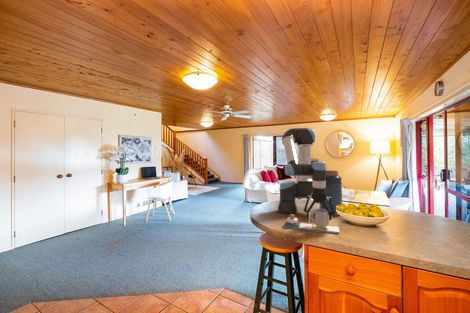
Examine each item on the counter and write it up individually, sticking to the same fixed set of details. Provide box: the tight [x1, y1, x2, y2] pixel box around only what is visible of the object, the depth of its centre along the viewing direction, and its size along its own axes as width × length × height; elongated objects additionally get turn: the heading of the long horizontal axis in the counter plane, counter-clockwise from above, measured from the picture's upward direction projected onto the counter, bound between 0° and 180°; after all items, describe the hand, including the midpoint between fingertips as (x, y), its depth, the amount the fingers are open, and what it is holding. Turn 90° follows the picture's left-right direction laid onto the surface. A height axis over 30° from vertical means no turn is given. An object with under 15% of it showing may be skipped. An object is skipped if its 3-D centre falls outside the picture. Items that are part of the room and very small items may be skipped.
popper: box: [286, 214, 299, 224], centre depth 138 cm, size 6×6×4 cm
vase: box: [318, 170, 343, 217], centre depth 165 cm, size 16×16×32 cm
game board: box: [283, 220, 340, 235], centre depth 134 cm, size 11×31×2 cm, turn 69°
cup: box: [310, 208, 328, 227], centre depth 132 cm, size 7×10×9 cm
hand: (318, 224), depth 132 cm, fingers closed on cup, 10 cm apart
